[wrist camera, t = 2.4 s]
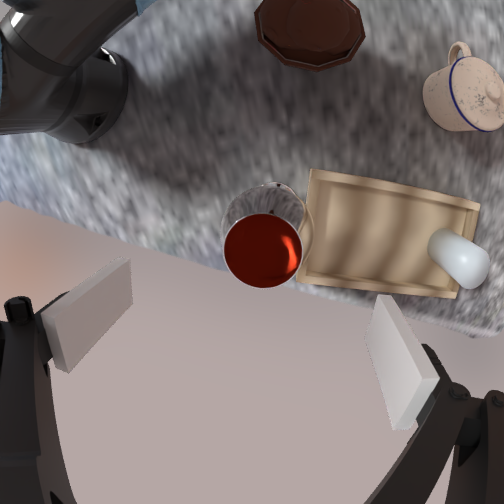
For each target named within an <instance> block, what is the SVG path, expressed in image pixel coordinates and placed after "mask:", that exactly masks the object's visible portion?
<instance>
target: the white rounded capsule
mask: <svg viewBox="0 0 504 504" xmlns="http://www.w3.org/2000/svg"><path fill="white" fill-rule="evenodd" d="M427 250H428V254H429V256H430V258H431V259H432V260H433V261H434V262H436V263H437V264H438V265H439V266H440V267H441V268H442V269H444V270H445V271H446V272H447V273H448V274H449V275H450V276H451V277H452V278H454V279H455V280H456V281H457V282H458V283H459V284H460V285H461V286H462V287H464V288H466V289H473V288H476V287H478V286H479V285H480V284H481V283H482V282H483V281H484V280H485V278H486V277H487V275H488V272H489V268H490V258H489V255H488V253H487V252H486V251H485V250H484V249H482V248H480V247H479V246H477V245H475V244H474V243H472V242H471V241H469V240H467V239H466V238H464V237H462V236H460V235H459V234H457V233H455V232H454V231H452V230H450V229H448V228H440V229H438V230H436V231H435V232H434V233H433V234H432V235H431V237H430V238H429V241H428V245H427Z"/></svg>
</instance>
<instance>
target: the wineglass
mask: <svg viewBox="0 0 504 504" xmlns="http://www.w3.org/2000/svg"><path fill="white" fill-rule="evenodd" d="M220 238H221V247H222V252H223V257H224V261H225V264H226V266H227V268H228V270H229V271H230V272H231V274H232V275H233V276H234V277H235V278H236V279H237V280H239V281H240V282H241V283H243V284H245V285H247V286H250V287H253V288H257V289H271V288H276V287H278V286H281V285H283V284H285V283H286V282H288V281H289V280H290V279H292V278H293V277H294V275H295V274H296V273H297V272H298V271H299V269H300V268H301V267H302V266H303V264H304V263H305V261H306V260H307V258H308V256H309V254H310V252H311V249H312V246H313V242H314V223H313V219H312V216H311V213H310V211H309V209H308V208H307V206H306V205H305V203H304V202H303V201H302V200H301V199H300V198H299V197H298V196H297V195H296V194H295V193H294V191H293V190H292V189H291V188H289V187H288V186H287V185H285V184H282V183H279V182H269V183H265V184H263V185H261V186H258V187H254V188H251V189H248V190H246V191H244V192H243V193H241V194H240V195H238V196H237V197H236V198H235V199H234V200H233V201H232V202H231V204H230V205H229V206H228V208H227V210H226V212H225V214H224V216H223V219H222V223H221V231H220Z"/></svg>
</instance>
